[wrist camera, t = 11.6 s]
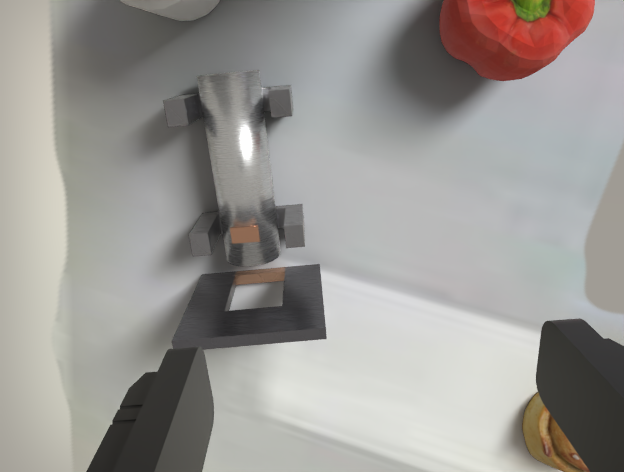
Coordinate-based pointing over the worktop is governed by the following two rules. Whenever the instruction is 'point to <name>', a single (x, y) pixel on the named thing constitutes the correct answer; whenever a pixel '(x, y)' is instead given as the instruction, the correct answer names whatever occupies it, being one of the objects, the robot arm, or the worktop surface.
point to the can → (175, 7)
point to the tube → (240, 165)
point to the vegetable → (511, 33)
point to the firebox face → (253, 310)
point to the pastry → (549, 439)
